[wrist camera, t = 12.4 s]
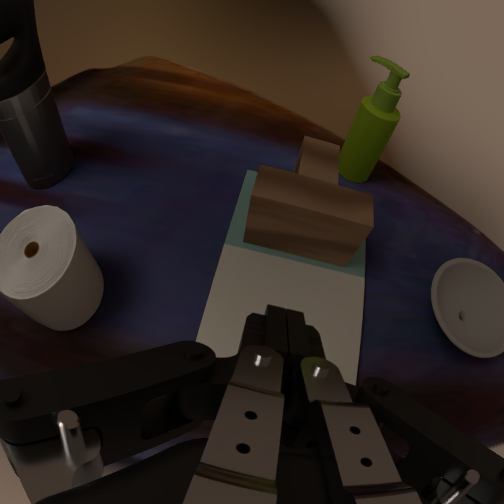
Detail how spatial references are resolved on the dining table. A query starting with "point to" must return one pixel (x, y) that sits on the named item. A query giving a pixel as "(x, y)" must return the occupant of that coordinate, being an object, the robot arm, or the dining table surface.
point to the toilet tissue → (49, 269)
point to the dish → (470, 306)
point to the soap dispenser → (372, 126)
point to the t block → (309, 208)
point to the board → (284, 293)
